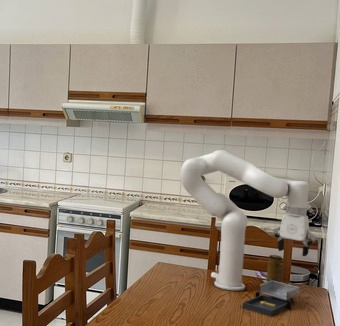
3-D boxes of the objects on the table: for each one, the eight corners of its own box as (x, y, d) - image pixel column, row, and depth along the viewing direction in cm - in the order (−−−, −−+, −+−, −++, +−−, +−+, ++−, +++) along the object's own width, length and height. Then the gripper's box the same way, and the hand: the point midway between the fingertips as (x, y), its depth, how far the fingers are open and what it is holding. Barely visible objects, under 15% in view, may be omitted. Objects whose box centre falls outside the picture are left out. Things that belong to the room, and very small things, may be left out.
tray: (242, 307, 183) (243, 302, 183) (260, 299, 194) (261, 294, 194) (271, 316, 176) (271, 311, 176) (288, 307, 186) (288, 302, 186)
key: (261, 300, 190) (261, 302, 190) (259, 302, 188) (259, 303, 188) (276, 304, 186) (276, 305, 186) (274, 305, 185) (274, 307, 185)
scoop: (259, 293, 193) (260, 284, 193) (277, 286, 205) (278, 277, 205) (287, 301, 185) (288, 291, 185) (304, 293, 197) (305, 284, 197)
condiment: (274, 280, 224) (276, 254, 223) (288, 285, 216) (290, 258, 215) (261, 281, 221) (263, 254, 220) (274, 286, 213) (276, 259, 212)
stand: (254, 300, 193) (255, 291, 193) (266, 294, 201) (267, 287, 201) (289, 309, 184) (289, 301, 184) (300, 304, 191) (300, 295, 191)
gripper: (271, 208, 202) (267, 249, 203) (315, 215, 190) (310, 259, 191) (279, 207, 208) (275, 247, 209) (322, 214, 196) (317, 256, 196)
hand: (292, 253), depth 200 cm, fingers open, 9 cm apart
